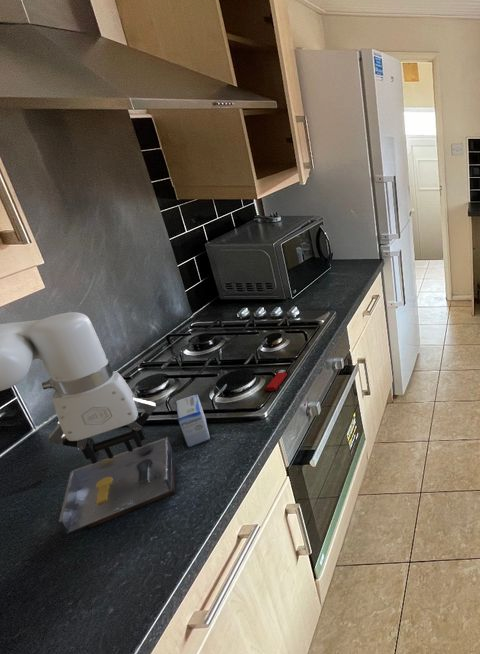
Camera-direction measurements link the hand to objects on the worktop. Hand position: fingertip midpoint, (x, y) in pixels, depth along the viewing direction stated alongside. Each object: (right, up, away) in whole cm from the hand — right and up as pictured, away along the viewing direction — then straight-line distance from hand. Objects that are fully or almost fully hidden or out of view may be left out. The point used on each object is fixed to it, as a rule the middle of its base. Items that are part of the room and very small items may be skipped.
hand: (118, 450), depth 83 cm
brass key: (0, -6, -3) cm, 7 cm away
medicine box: (+3, -4, +18) cm, 18 cm away
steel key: (+5, -5, +1) cm, 7 cm away
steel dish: (+3, -6, -2) cm, 8 cm away
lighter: (+12, +4, +36) cm, 38 cm away
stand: (+2, -10, +2) cm, 11 cm away
